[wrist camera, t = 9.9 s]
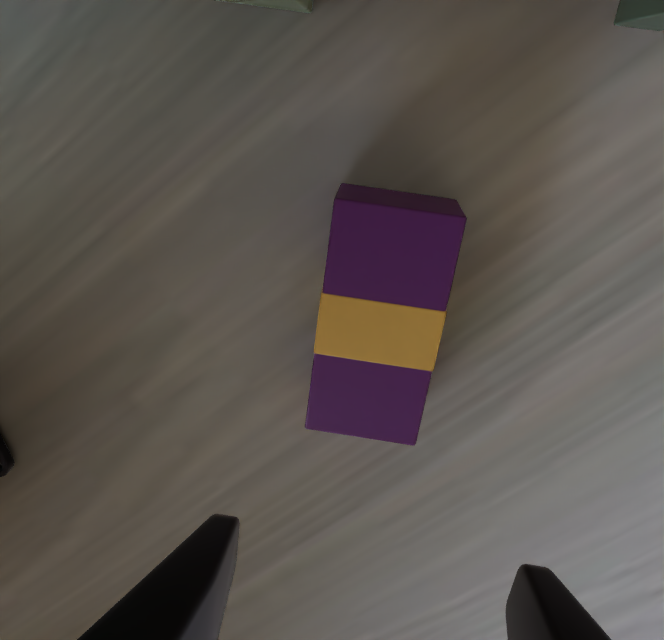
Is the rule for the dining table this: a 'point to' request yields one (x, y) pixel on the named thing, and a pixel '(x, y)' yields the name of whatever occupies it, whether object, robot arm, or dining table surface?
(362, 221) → the chocolate bar
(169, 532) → the dining table surface
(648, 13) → the drawer
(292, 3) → the cabinet
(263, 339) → the dining table surface
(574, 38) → the dining table surface
